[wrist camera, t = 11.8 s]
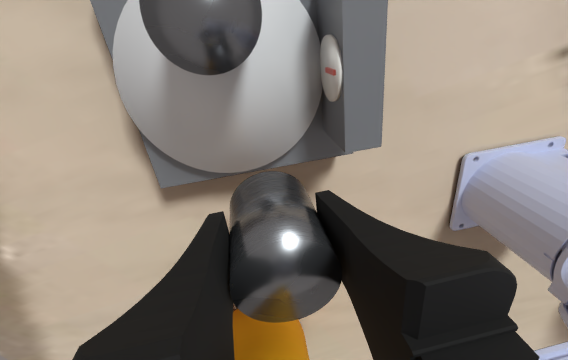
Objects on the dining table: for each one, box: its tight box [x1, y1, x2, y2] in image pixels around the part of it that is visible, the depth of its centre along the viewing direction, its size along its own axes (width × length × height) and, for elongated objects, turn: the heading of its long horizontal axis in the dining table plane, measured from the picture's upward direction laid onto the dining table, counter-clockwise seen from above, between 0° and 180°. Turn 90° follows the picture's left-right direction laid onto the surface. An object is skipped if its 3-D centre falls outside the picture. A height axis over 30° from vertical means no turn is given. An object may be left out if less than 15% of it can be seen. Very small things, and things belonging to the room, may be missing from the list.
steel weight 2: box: [230, 171, 342, 323], centre depth 12 cm, size 4×4×5 cm
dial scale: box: [90, 0, 388, 188], centre depth 16 cm, size 13×12×6 cm
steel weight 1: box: [139, 0, 262, 75], centre depth 12 cm, size 4×4×5 cm
